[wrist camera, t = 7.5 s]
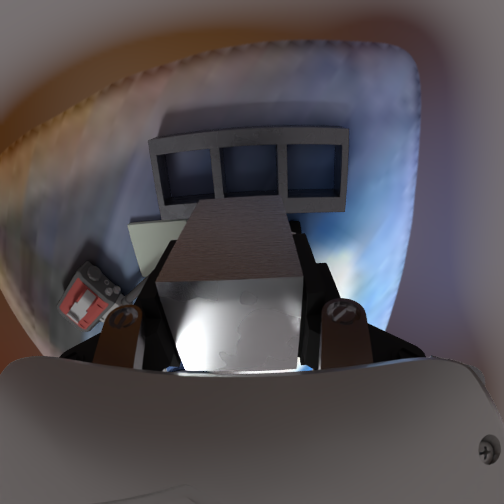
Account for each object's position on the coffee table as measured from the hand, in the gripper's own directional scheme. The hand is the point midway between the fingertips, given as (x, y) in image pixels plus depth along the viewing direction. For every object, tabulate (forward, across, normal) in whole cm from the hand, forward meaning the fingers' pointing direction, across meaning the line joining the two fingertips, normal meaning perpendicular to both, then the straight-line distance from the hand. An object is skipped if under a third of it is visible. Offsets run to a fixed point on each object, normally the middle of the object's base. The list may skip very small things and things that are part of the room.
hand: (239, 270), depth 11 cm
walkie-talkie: (+17, +21, +13) cm, 30 cm away
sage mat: (+17, +10, +8) cm, 21 cm away
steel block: (+3, 0, 0) cm, 3 cm away
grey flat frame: (+17, 0, -1) cm, 17 cm away
